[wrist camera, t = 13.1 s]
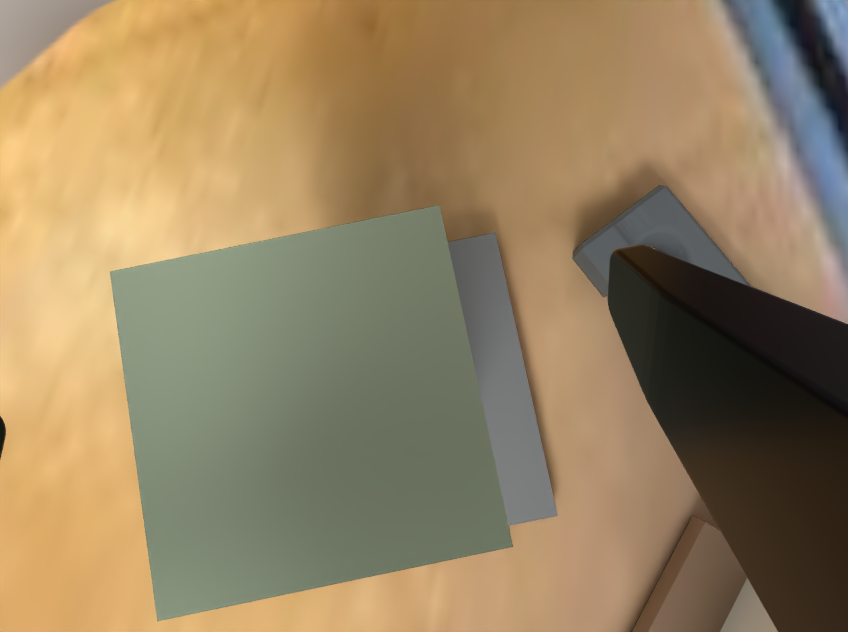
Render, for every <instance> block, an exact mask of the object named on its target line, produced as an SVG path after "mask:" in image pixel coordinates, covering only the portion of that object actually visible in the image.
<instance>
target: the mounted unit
mask: <svg viewBox="0 0 848 632" xmlns="http://www.w3.org/2000/svg"><path fill="white" fill-rule="evenodd" d="M632 632H778V631H777V629H776V628H775V626H774V624H773V622H772V621H771V619H770V617H769V615H768V614H767V612H766V610H765V608H764V607H763V605H762V603H761V601H760V600H759V598H758V596H757V594H756V592H755V591H754V589H753V587H752V585H751V584H750V582H749V580H748V578H747V577H746V575H745V573H744V571H743V570H742V568H741V566H740V564H739V563H738V561H737V559H736V557H735V556H734V554H733V552H732V550H731V549H730V547H729V545H728V543H727V542H726V540H725V538H724V536H723V534H722V533H721V531H720V530H718V529H717V528H715V527H713V526H712V525H710V524H708V523H707V522H705V521H703V520H701V519H698V518H696V517H694V516H692V518H691V520H690V522H689V523H688V525H687V527H686V529H685V531H684V533H683V535H682V537H681V539H680V541H679V543H678V544H677V546H676V548H675V550H674V552H673V554H672V556H671V558H670V560H669V562H668V564H667V565H666V567H665V569H664V571H663V573H662V575H661V577H660V579H659V581H658V583H657V585H656V587H655V588H654V590H653V592H652V594H651V596H650V598H649V600H648V602H647V604H646V606H645V608H644V609H643V611H642V613H641V615H640V617H639V619H638V621H637V623H636V625H635V627H634V629H633V630H632Z"/></svg>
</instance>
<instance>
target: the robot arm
mask: <svg viewBox="0 0 848 632" xmlns="http://www.w3.org/2000/svg"><path fill="white" fill-rule="evenodd" d="M608 305H609V310H610V313H611V316H612V319H613V321H614V323H615V326H616V328H617V331H618V333H619V335H620V338H621V340H622V343H623V345H624V348H625V350H626V352H627V355H628V357H629V360H630V362H631V364H632V367H633V369H634V372H635V374H636V376H637V379H638V381H639V384H640V386H641V388H642V391H643V393H644V395H645V397H646V400H647V402H648V404H649V405H650V407H651V409H652V411H653V413H654V415H655V417H656V418H657V420H658V422H659V424H660V425H661V427H662V429H663V431H664V433H665V434H666V436H667V438H668V440H669V441H670V443H671V445H672V447H673V448H674V450H675V452H676V454H677V455H678V457H679V459H680V461H681V462H682V464H683V466H684V468H685V469H686V471H687V473H688V475H689V476H690V478H691V480H692V482H693V484H694V485H695V487H696V489H697V491H698V492H699V494H700V496H701V498H702V499H703V501H704V503H705V505H706V506H707V508H708V510H709V512H710V513H711V515H712V517H713V519H714V520H715V522H716V524H717V526H718V527H719V529H720V531H721V533H722V534H723V536H724V538H725V540H726V542H727V543H728V545H729V547H730V549H731V550H732V552H733V554H734V556H735V557H736V559H737V561H738V563H739V564H740V566H741V568H742V570H743V571H744V573H745V575H746V577H747V578H748V580H749V582H750V584H751V585H752V587H753V589H754V591H755V592H756V594H757V596H758V598H759V600H760V601H761V603H762V605H763V607H764V608H765V610H766V612H767V614H768V615H769V617H770V619H771V621H772V622H773V624H774V626H775V628H776V629H777V631H778V632H848V324H846V323H843V322H841V321H838V320H835V319H833V318H830V317H828V316H825V315H823V314H820V313H817V312H815V311H812V310H810V309H807V308H805V307H802V306H799V305H797V304H794V303H792V302H789V301H787V300H784V299H781V298H779V297H776V296H774V295H771V294H769V293H766V292H763V291H761V290H758V289H756V288H753V287H751V286H748V285H745V284H743V283H740V282H738V281H735V280H733V279H730V278H727V277H725V276H722V275H720V274H717V273H715V272H712V271H709V270H707V269H704V268H702V267H699V266H697V265H694V264H691V263H689V262H686V261H684V260H681V259H679V258H676V257H673V256H671V255H668V254H666V253H663V252H661V251H658V250H656V249H653V248H650V247H648V246H645V245H634V246H629V247H625V248H620V249H616V250H614V251H613V252H612V254H611V257H610V264H609V283H608ZM5 436H6V428H5V424H4V421H3V419H2V418H1V416H0V458H1V454H2V450H3V445H4V441H5Z"/></svg>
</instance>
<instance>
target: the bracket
mask: <svg viewBox="0 0 848 632" xmlns="http://www.w3.org/2000/svg"><path fill="white" fill-rule="evenodd" d="M634 245H648V246H652V247H654V248H656V249H658V250H659V251H661V252H663V253H666V254H668V255H671V256H673V257H676V258H679V259H681V260H684V261H686V262H689V263H691V264H694V265H697V266H699V267H702V268H704V269H707V270H709V271H712V272H715V273H717V274H720V275H722V276H725V277H727V278H730V279H733V280H735V281H738V282H740V283H743V284H745V285H748V286H750V285H749V283H748V282H747V281H746V280H745V279H744V277H743V276H742V275H741V274H740V273H739V271H738V270H737V269H736V268H735V267H734V266H733V264H732V263H731V262H730V261H729V260H728V258H727V257H726V256H725V255H724V254H723V252H722V251H721V250H720V249H719V248H718V247H717V245H716V244H715V243H714V242H713V241H712V239H711V238H710V237H709V236H708V235H707V233H706V232H705V231H704V230H703V229H702V227H701V226H700V225H699V224H698V223H697V222H696V220H695V219H694V218H693V217H692V216H691V214H690V213H689V212H688V211H687V210H686V208H685V207H684V206H683V205H682V204H681V202H680V201H679V200H678V199H677V198H676V197H675V195H674V194H673V193H672V192H671V191H670V189H669V188H668V187H667V186H661V185H659V186H658V187H656V188H655V189H654V190H652V191H651V192H650V193H648V194H647V195H646V196H644V197H643V198H642V199H640V200H639V201H638V202H636V203H635V204H634V205H633V206H631V207H630V208H629V209H627V210H626V211H625V212H623V213H622V214H621V215H619V216H618V217H617V218H615V219H614V220H613V221H611V222H610V223H609V224H607V225H606V226H604V227H603V228H602V229H600V230H599V231H598V232H596V233H595V234H594V235H592V236H591V237H590V238H588V239H587V240H586V241H584V242H583V243H582V244H581V245H580V246H579V247H577V248H576V250H575V251H574V252H573V260H574V261H575V262H576V264H577V265H578V266H579V267H580V269H581V270H582V271H583V272H584V274H585V275H586V276H587V277H588V279H589V280H590V281H591V282H592V284H593V285H594V286H595V287H596V289H597V290H598V291H599V292H600V294H601V295H602V296H603V297H605V296H607V295H608V283H609V264H610V257H611V254H612V252H613V251H614V250H616V249H620V248H625V247H629V246H634Z"/></svg>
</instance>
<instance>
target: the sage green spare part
mask: <svg viewBox="0 0 848 632" xmlns="http://www.w3.org/2000/svg"><path fill="white" fill-rule="evenodd" d="M110 276H111V283H112V291H113V298H114V305H115V313H116V320H117V327H118V335H119V342H120V349H121V357H122V364H123V371H124V379H125V386H126V393H127V401H128V408H129V415H130V423H131V430H132V437H133V445H134V452H135V460H136V467H137V474H138V482H139V489H140V496H141V504H142V511H143V518H144V526H145V533H146V540H147V548H148V555H149V562H150V570H151V577H152V584H153V592H154V599H155V606H156V614H157V621H161V620H166V619H170V618H175V617H180V616H185V615H189V614H194V613H199V612H204V611H208V610H213V609H218V608H223V607H228V606H232V605H237V604H242V603H247V602H251V601H256V600H261V599H266V598H270V597H275V596H280V595H285V594H290V593H294V592H299V591H304V590H309V589H313V588H318V587H323V586H328V585H333V584H337V583H342V582H347V581H352V580H356V579H361V578H366V577H371V576H375V575H380V574H385V573H390V572H395V571H399V570H404V569H409V568H414V567H418V566H423V565H428V564H433V563H437V562H442V561H447V560H452V559H457V558H461V557H466V556H471V555H476V554H480V553H485V552H490V551H495V550H499V549H504V548H509V547H513V544H512V539H511V535H510V530H509V525H508V521H507V516H506V511H505V507H504V502H503V497H502V493H501V488H500V483H499V479H498V474H497V470H496V465H495V460H494V456H493V451H492V446H491V442H490V437H489V432H488V428H487V423H486V418H485V414H484V409H483V404H482V400H481V395H480V390H479V386H478V381H477V376H476V372H475V367H474V362H473V358H472V353H471V348H470V344H469V339H468V335H467V330H466V325H465V321H464V316H463V311H462V307H461V302H460V297H459V293H458V288H457V283H456V279H455V274H454V269H453V265H452V260H451V255H450V251H449V246H448V241H447V237H446V232H445V227H444V223H443V218H442V213H441V209H440V205H437V206H433V207H428V208H423V209H418V210H413V211H408V212H403V213H398V214H393V215H388V216H383V217H378V218H373V219H368V220H363V221H358V222H353V223H348V224H343V225H338V226H333V227H328V228H324V229H319V230H314V231H309V232H304V233H299V234H294V235H289V236H284V237H279V238H274V239H269V240H264V241H259V242H254V243H249V244H244V245H239V246H234V247H229V248H224V249H219V250H214V251H210V252H205V253H200V254H195V255H190V256H185V257H180V258H175V259H170V260H165V261H160V262H155V263H150V264H145V265H140V266H135V267H130V268H125V269H120V270H115V271H110Z"/></svg>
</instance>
